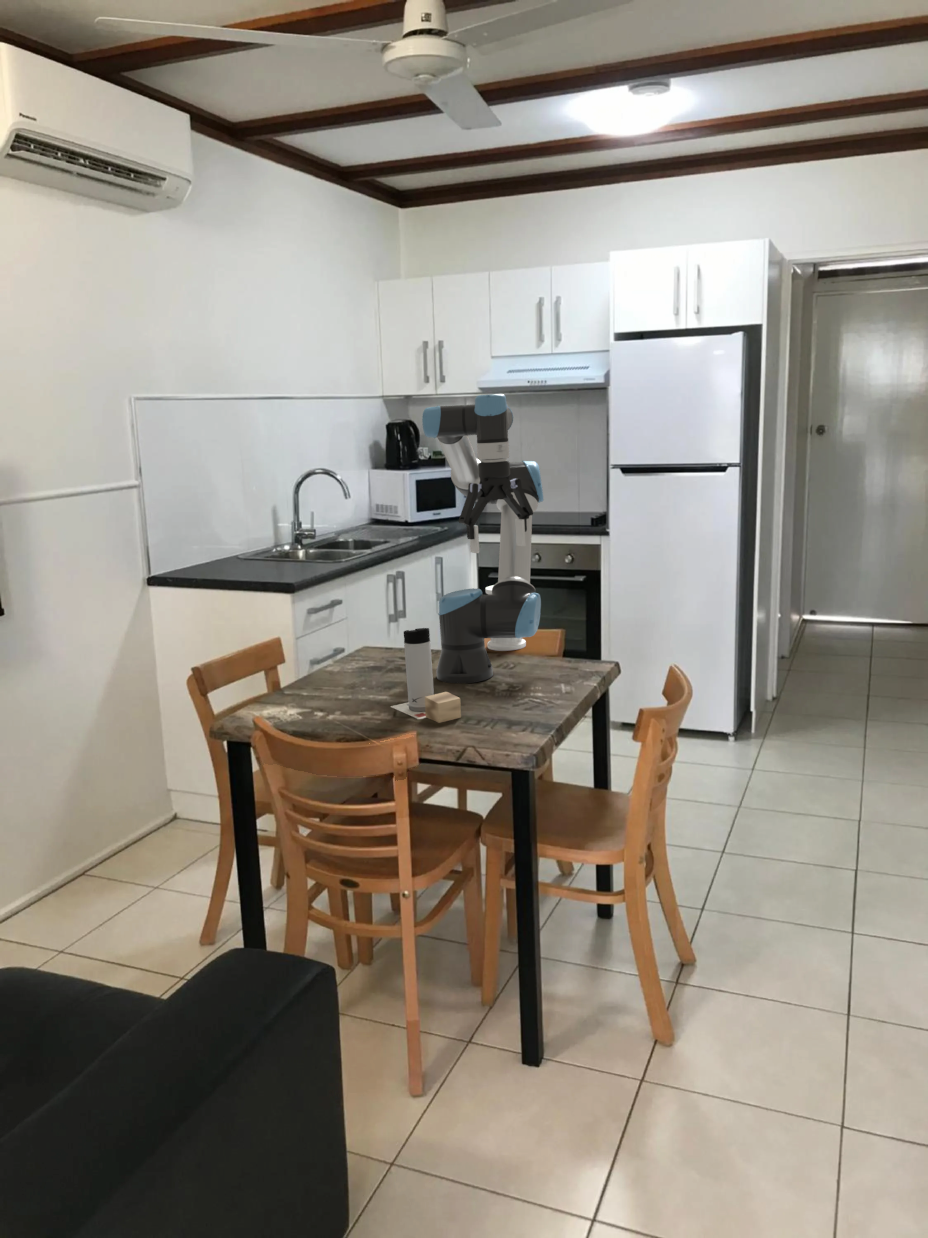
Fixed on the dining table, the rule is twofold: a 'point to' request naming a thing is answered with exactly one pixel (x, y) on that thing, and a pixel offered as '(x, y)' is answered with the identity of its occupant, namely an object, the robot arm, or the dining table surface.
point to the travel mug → (418, 667)
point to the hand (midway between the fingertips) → (498, 549)
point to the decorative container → (504, 643)
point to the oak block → (442, 707)
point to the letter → (409, 711)
